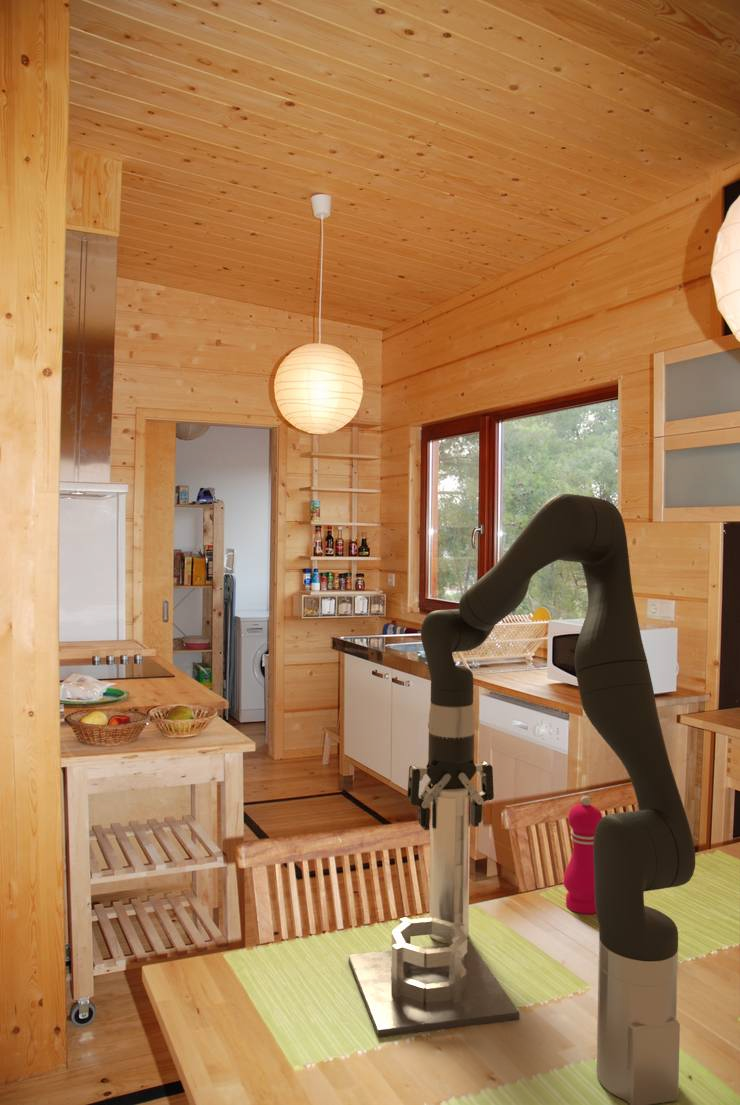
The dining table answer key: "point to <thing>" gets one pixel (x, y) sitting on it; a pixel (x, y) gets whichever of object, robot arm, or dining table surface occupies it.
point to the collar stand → (429, 982)
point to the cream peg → (450, 858)
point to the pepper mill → (582, 858)
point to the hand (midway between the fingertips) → (450, 826)
